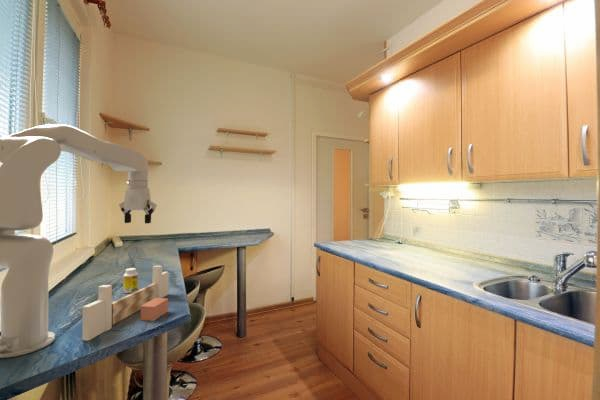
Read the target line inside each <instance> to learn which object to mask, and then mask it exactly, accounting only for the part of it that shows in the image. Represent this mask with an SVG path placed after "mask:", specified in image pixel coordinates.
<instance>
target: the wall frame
mask: <svg viewBox="0 0 600 400" xmlns="http://www.w3.org/2000/svg"><path fill="white" fill-rule="evenodd" d="M169 272H170V271H163V265H153V266H152V275H151V277H152V278H151V279H152V281H151V282H152V283H151V284H153V283H156V298H165V297H167V296H169V290H170V289H169V288H170V286H169V285H170V283H169V279H170V277H169ZM112 289H113V285H111V284H102V285H99V286H98V288H97V290H98V291H97V294H98V295H97V300H95V301H93V302H91V303H88V304H85V305H83V306H82V326H81V327H82V335H81V336H82V337H81V338H82V341H87V342H89V341H90V340H92V339H94V338H96V337H98V336H100V335H101V334H102V333H104V332H107V331H109V330H111V329H112V327H113V325H112V302H113V294H112V293H113V292H112V291H113V290H112Z"/></svg>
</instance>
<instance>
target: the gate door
mask: <svg viewBox="0 0 600 400" xmlns="http://www.w3.org/2000/svg"><path fill="white" fill-rule="evenodd" d="M154 298H156V283H153V284H152V283H151V284H149V285H147V286H145V287H143V288H140V289H138V290H137V291H136V292H133V293H128V295H125V296H123V297H122V298H119V299H116V300H115V301H112V326H114V325H115V324H117V323H119V322H121V321H122V320H124V319H126V318H128V317H129V316H132V315H134V313H136V312H138V311H141V306H142V305H144V304H145V303H147V302H149V301H151V300H153V299H154Z"/></svg>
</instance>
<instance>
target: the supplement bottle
mask: <svg viewBox="0 0 600 400" xmlns="http://www.w3.org/2000/svg"><path fill="white" fill-rule="evenodd" d="M122 279H123V280H122V281H123V283H122V284H123V287H122V288H123V293H124V294H132V293H134V292H136V291H138V290H139V287H138V286H139V285H138V283H139V273H138V272H137V268H135V267H129V268H126V269H125V273H124V274H123V278H122Z"/></svg>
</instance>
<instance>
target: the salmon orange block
mask: <svg viewBox="0 0 600 400" xmlns="http://www.w3.org/2000/svg"><path fill="white" fill-rule="evenodd" d="M168 312H169V299H168V298H165V297H163V298H154V299H153V300H151V301H149V302H147V303H145V304H144V305H142V306H141V309H140V320H141V321H149V322H150V321H151V322H154V321H156V320H158V319H159V318H161V317H162V316H163V315H165V314H166V313H168ZM161 315H162V316H161ZM160 316H161V317H160ZM157 318H158V319H157Z"/></svg>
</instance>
